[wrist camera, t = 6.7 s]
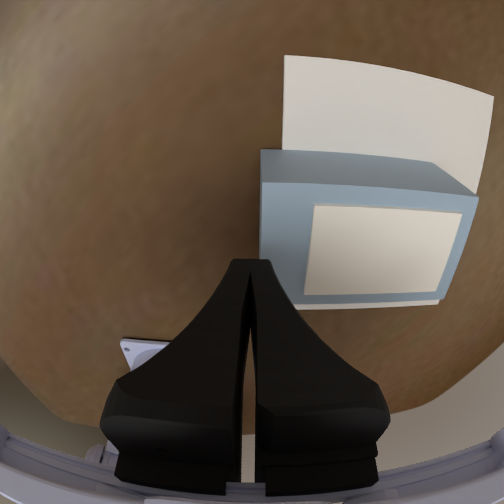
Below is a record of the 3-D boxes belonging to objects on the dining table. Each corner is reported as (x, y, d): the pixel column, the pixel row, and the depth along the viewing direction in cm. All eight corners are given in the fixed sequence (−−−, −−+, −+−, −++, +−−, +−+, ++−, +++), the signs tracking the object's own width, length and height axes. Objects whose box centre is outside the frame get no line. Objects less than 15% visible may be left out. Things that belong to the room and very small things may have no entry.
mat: (435, 300, 22) (437, 304, 22) (274, 305, 22) (274, 309, 22) (490, 95, 14) (493, 96, 13) (283, 55, 14) (284, 55, 13)
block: (259, 247, 19) (411, 249, 19) (259, 308, 15) (445, 302, 15) (260, 149, 16) (432, 162, 16) (262, 184, 12) (481, 199, 12)
